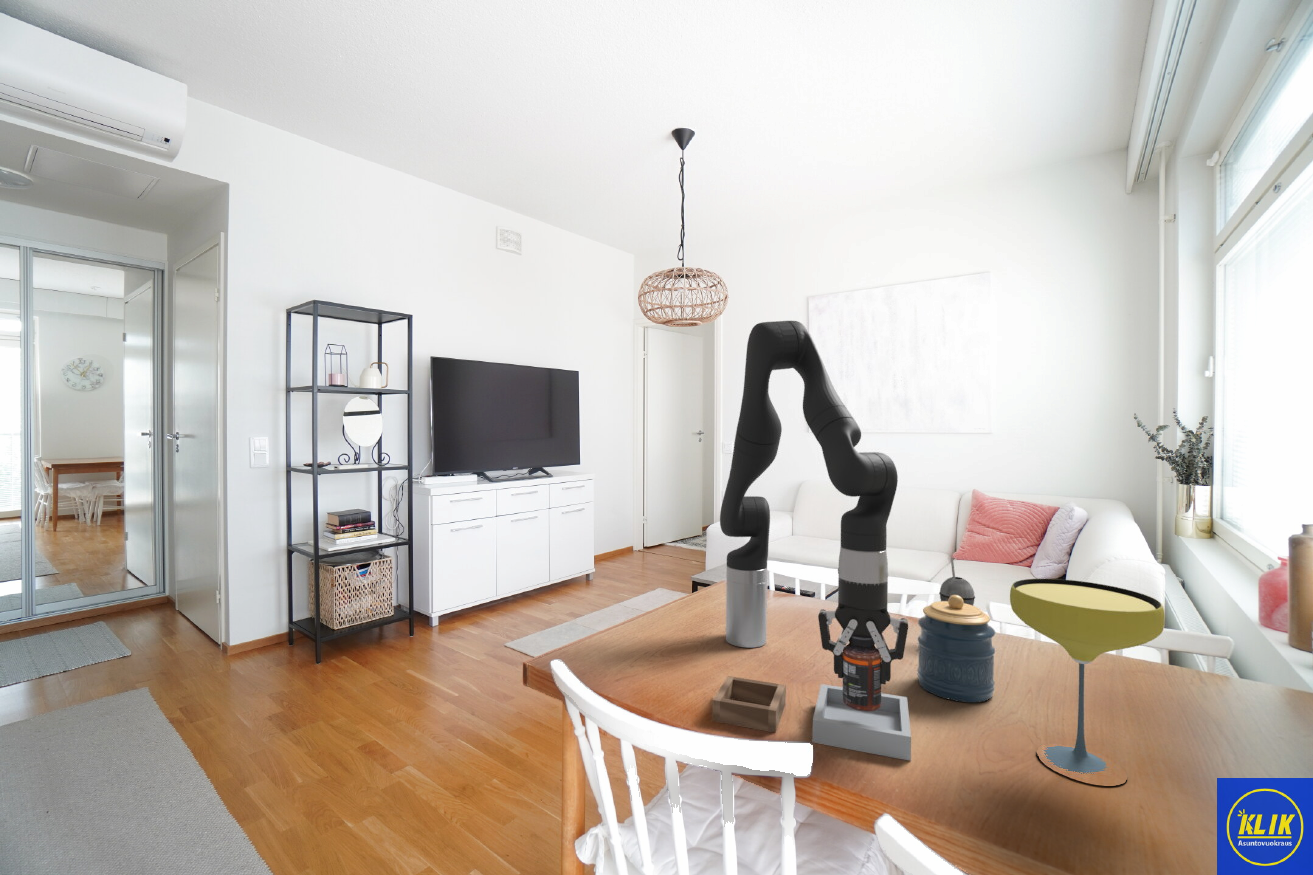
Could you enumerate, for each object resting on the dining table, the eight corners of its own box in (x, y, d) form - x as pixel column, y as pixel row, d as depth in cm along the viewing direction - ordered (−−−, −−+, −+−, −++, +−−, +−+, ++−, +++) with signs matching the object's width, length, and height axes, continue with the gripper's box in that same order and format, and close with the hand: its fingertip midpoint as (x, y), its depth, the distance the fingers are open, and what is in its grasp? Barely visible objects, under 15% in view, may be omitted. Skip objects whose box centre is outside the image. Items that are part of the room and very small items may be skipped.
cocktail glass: (1197, 794, 79) (1200, 608, 79) (1086, 811, 75) (1089, 615, 75) (1075, 728, 96) (1077, 575, 96) (980, 739, 93) (982, 580, 92)
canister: (990, 681, 114) (992, 591, 114) (998, 710, 103) (999, 609, 102) (917, 669, 120) (918, 583, 120) (916, 695, 108) (917, 599, 108)
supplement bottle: (880, 699, 97) (881, 631, 97) (881, 715, 91) (882, 643, 91) (842, 694, 99) (843, 626, 99) (841, 709, 93) (842, 638, 93)
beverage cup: (979, 653, 129) (980, 562, 129) (943, 650, 131) (944, 560, 131) (968, 641, 136) (969, 555, 136) (934, 639, 138) (935, 553, 138)
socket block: (727, 694, 107) (727, 675, 107) (785, 704, 104) (785, 684, 104) (712, 720, 98) (712, 699, 98) (775, 732, 94) (775, 710, 94)
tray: (820, 703, 104) (821, 683, 104) (906, 717, 99) (906, 697, 99) (812, 742, 91) (812, 719, 91) (910, 760, 86) (911, 736, 86)
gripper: (910, 574, 96) (908, 677, 96) (819, 566, 101) (818, 664, 101) (912, 585, 89) (911, 696, 89) (814, 576, 94) (813, 681, 94)
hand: (861, 679), depth 95 cm, fingers closed on supplement bottle, 6 cm apart
